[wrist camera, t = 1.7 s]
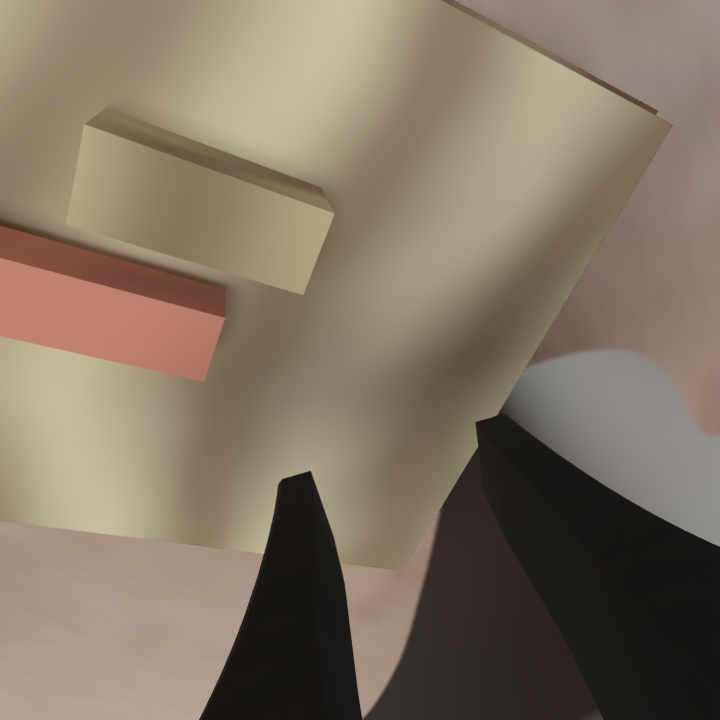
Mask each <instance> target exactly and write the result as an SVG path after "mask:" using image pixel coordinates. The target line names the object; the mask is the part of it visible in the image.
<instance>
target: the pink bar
mask: <svg viewBox="0 0 720 720" xmlns="http://www.w3.org/2000/svg"><path fill="white" fill-rule="evenodd" d="M224 320H225V289H221V288H218V287H214V286H211V285H207V284H204V283H200V282H197V281H193V280H190V279H186V278H183V277H179V276H176V275H172V274H169V273H165V272H162V271H158V270H155V269H151V268H148V267H144V266H141V265H137V264H134V263H130V262H127V261H123V260H120V259H116V258H113V257H109V256H106V255H102V254H99V253H95V252H91V251H88V250H84V249H81V248H77V247H74V246H70V245H67V244H63V243H60V242H56V241H53V240H49V239H46V238H42V237H39V236H35V235H32V234H28V233H25V232H21V231H18V230H14V229H11V228H7V227H4V226H0V336H2V337H6V338H11V339H15V340H20V341H24V342H29V343H33V344H37V345H42V346H46V347H51V348H55V349H60V350H64V351H69V352H73V353H77V354H82V355H86V356H91V357H95V358H100V359H104V360H109V361H113V362H117V363H122V364H126V365H131V366H135V367H140V368H144V369H149V370H153V371H158V372H162V373H166V374H171V375H175V376H180V377H184V378H189V379H193V380H198V381H202V382H204V381H205V378H206V375H207V371H208V368H209V365H210V362H211V359H212V356H213V353H214V350H215V347H216V344H217V341H218V338H219V335H220V332H221V329H222V326H223V323H224Z"/></svg>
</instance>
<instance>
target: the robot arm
mask: <svg viewBox="0 0 720 720" xmlns="http://www.w3.org/2000/svg"><path fill="white" fill-rule="evenodd" d="M475 425H476V433H477V441H478V448H479V457H480V465H481V473H482V480H483V488H484V493H485V495H486V497H487V500H488V502H489V504H490V507H491V509H492V511H493V513H494V516H495V518H496V520H497V522H498V525H499V527H500V529H501V531H502V533H503V535H504V537H505V539H506V540H507V542H508V544H509V546H510V547H511V549H512V551H513V552H514V554H515V556H516V557H517V559H518V561H519V563H520V564H521V566H522V568H523V569H524V571H525V572H526V574H527V576H528V578H529V579H530V581H531V583H532V584H533V586H534V588H535V589H536V591H537V593H538V594H539V596H540V597H541V599H542V601H543V603H544V604H545V606H546V608H547V610H548V611H549V613H550V615H551V616H552V618H553V620H554V621H555V623H556V624H557V626H558V628H559V630H560V631H561V633H562V635H563V637H564V639H565V641H566V643H567V644H568V646H569V648H570V650H571V652H572V654H573V656H574V658H575V660H576V662H577V664H578V666H579V669H580V671H581V673H582V675H583V677H584V679H585V681H586V683H587V685H588V687H589V689H590V692H591V693H592V696H593V698H594V700H595V702H596V704H597V706H598V709H599V711H600V713H601V715H602V717H603V719H604V720H720V547H719V546H717V545H715V544H712V543H710V542H708V541H706V540H704V539H702V538H699V537H697V536H695V535H693V534H691V533H689V532H687V531H684V530H683V529H681V528H679V527H677V526H675V525H673V524H671V523H669V522H667V521H665V520H664V519H662V518H660V517H658V516H656V515H654V514H652V513H651V512H649V511H647V510H645V509H643V508H642V507H640V506H638V505H636V504H635V503H633V502H631V501H629V500H628V499H626V498H624V497H623V496H621V495H620V494H618V493H616V492H614V491H613V490H611V489H610V488H608V487H606V486H605V485H603V484H602V483H600V482H599V481H597V480H595V479H594V478H592V477H591V476H589V475H588V474H586V473H585V472H583V471H582V470H580V469H579V468H577V467H576V466H575V465H573V464H572V463H570V462H569V461H567V460H565V459H564V458H563V457H561V456H560V455H559V454H557V453H556V452H554V451H553V450H552V449H550V448H549V447H547V446H546V445H545V444H543V443H542V442H541V441H539V440H538V439H537V438H535V437H534V436H533V435H531V434H530V433H529V432H527V431H526V430H525V429H523V428H522V427H521V426H520V425H518V424H517V423H516V422H515V421H513V420H512V419H511V418H510V417H508V416H506V415H505V414H501V415H497V416H494V417H491V418H487V419H484V420H481V421H477V422H475ZM199 720H362V715H361V709H360V703H359V696H358V689H357V681H356V673H355V665H354V656H353V648H352V640H351V632H350V623H349V615H348V607H347V599H346V591H345V583H344V579H343V574H342V570H341V565H340V561H339V557H338V552H337V548H336V544H335V539H334V536H333V533H332V530H331V527H330V524H329V521H328V518H327V516H326V513H325V510H324V507H323V504H322V501H321V498H320V496H319V493H318V490H317V487H316V484H315V481H314V478H313V476H312V473H311V471H308V472H304V473H301V474H297V475H294V476H291V477H287V478H284V479H282V480H281V481H280V482H279V484H278V489H277V497H276V503H275V509H274V514H273V519H272V523H271V528H270V532H269V537H268V541H267V544H266V548H265V552H264V555H263V559H262V563H261V566H260V570H259V573H258V577H257V580H256V583H255V586H254V589H253V592H252V595H251V598H250V601H249V604H248V607H247V610H246V613H245V616H244V618H243V621H242V624H241V626H240V629H239V632H238V634H237V637H236V639H235V642H234V644H233V647H232V649H231V652H230V654H229V656H228V659H227V661H226V664H225V666H224V668H223V671H222V673H221V675H220V677H219V679H218V681H217V683H216V686H215V688H214V690H213V692H212V694H211V696H210V698H209V701H208V703H207V705H206V707H205V709H204V711H203V713H202V715H201V717H200V719H199Z"/></svg>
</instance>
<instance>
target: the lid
mask: <svg viewBox="0 0 720 720" xmlns="http://www.w3.org/2000/svg"><path fill="white" fill-rule="evenodd" d="M672 126H673V124H671V123H669V122H667V121H665V120H663V119H661V118H660V117H658V116H656V115H654V114H652V113H650V112H648V111H647V110H645V109H643V108H641V107H639V106H637V105H635V104H634V103H632V102H630V101H628V100H626V99H624V98H622V97H620V96H619V95H617V94H615V93H613V92H611V91H609V90H607V89H606V88H604V87H602V86H600V85H598V84H596V83H594V82H593V81H591V80H589V79H587V78H585V77H583V76H581V75H580V74H578V73H576V72H574V71H572V70H570V69H568V68H567V67H565V66H563V65H561V64H559V63H557V62H555V61H553V60H552V59H550V58H548V57H546V56H544V55H542V54H540V53H539V52H537V51H535V50H533V49H531V48H529V47H527V46H526V45H524V44H522V43H520V42H518V41H516V40H514V39H513V38H511V37H509V36H507V35H505V34H503V33H501V32H500V31H498V30H496V29H494V28H492V27H490V26H488V25H487V24H485V23H483V22H481V21H479V20H477V19H475V18H473V17H472V16H470V15H468V14H466V13H464V12H462V11H460V10H459V9H457V8H455V7H453V6H451V5H449V4H447V3H446V2H444V1H442V0H0V226H4V227H7V228H11V229H14V230H18V231H21V232H25V233H28V234H32V235H35V236H39V237H42V238H46V239H49V240H53V241H56V242H60V243H63V244H67V245H70V246H74V247H77V248H81V249H84V250H88V251H91V252H95V253H99V254H102V255H106V256H109V257H113V258H116V259H120V260H123V261H127V262H130V263H134V264H137V265H141V266H144V267H148V268H151V269H155V270H158V271H162V272H165V273H169V274H172V275H176V276H179V277H183V278H186V279H190V280H193V281H197V282H200V283H204V284H207V285H211V286H214V287H218V288H221V289H225V320H224V323H223V326H222V329H221V332H220V335H219V338H218V341H217V344H216V347H215V350H214V353H213V356H212V359H211V362H210V365H209V368H208V371H207V375H206V378H205V381H204V382H202V381H198V380H193V379H189V378H184V377H180V376H175V375H171V374H166V373H162V372H158V371H153V370H149V369H144V368H140V367H135V366H131V365H126V364H122V363H117V362H113V361H109V360H104V359H100V358H95V357H91V356H86V355H82V354H77V353H73V352H69V351H64V350H60V349H55V348H51V347H46V346H42V345H37V344H33V343H29V342H24V341H20V340H15V339H11V338H6V337H2V336H0V521H4V522H12V523H20V524H28V525H36V526H44V527H52V528H60V529H68V530H76V531H84V532H92V533H101V534H109V535H117V536H125V537H133V538H141V539H149V540H157V541H165V542H173V543H181V544H189V545H197V546H205V547H213V548H222V549H230V550H238V551H246V552H254V553H262V554H264V552H265V548H266V544H267V541H268V537H269V532H270V528H271V523H272V519H273V514H274V509H275V503H276V497H277V489H278V484H279V482H280V481H281V480H282V479H284V478H287V477H291V476H294V475H297V474H301V473H304V472H308V471H311V473H312V476H313V478H314V481H315V484H316V487H317V490H318V493H319V496H320V498H321V501H322V504H323V507H324V510H325V513H326V516H327V518H328V521H329V524H330V527H331V530H332V533H333V536H334V539H335V544H336V548H337V552H338V557H339V561H340V563H343V564H351V565H359V566H367V567H375V568H383V569H391V570H399V571H403V569H404V567H405V566H406V564H407V562H408V561H409V559H410V557H411V556H412V554H413V553H414V551H415V549H416V548H417V546H418V544H419V543H420V541H421V539H422V538H423V536H424V534H425V533H426V531H427V529H428V528H429V526H430V524H431V523H432V521H433V520H434V518H435V516H436V515H437V513H438V511H439V510H440V508H441V506H442V505H443V503H444V501H445V500H446V498H447V496H448V495H449V493H450V492H451V490H452V488H453V487H454V485H455V483H456V482H457V480H458V478H459V476H460V475H461V473H462V472H463V470H464V468H465V467H466V465H467V463H468V462H469V460H470V459H471V457H472V455H473V454H474V452H475V450H476V449H477V447H478V441H477V433H476V425H475V422H477V421H481V420H484V419H487V418H491V417H494V416H497V414H498V412H499V411H500V409H501V407H502V406H503V404H504V402H505V401H506V399H507V398H508V396H509V394H510V393H511V391H512V389H513V388H514V386H515V384H516V383H517V381H518V379H519V378H520V376H521V374H522V373H523V371H524V370H525V368H526V366H527V365H528V363H529V361H530V360H531V358H532V356H533V355H534V353H535V351H536V350H537V348H538V346H539V345H540V343H541V342H542V340H543V338H544V337H545V335H546V333H547V332H548V330H549V328H550V327H551V325H552V323H553V322H554V320H555V318H556V317H557V315H558V313H559V312H560V310H561V309H562V307H563V305H564V304H565V302H566V300H567V299H568V297H569V295H570V294H571V292H572V290H573V289H574V287H575V285H576V284H577V282H578V281H579V279H580V277H581V276H582V274H583V272H584V271H585V269H586V267H587V266H588V264H589V262H590V261H591V259H592V257H593V256H594V254H595V252H596V251H597V249H598V248H599V246H600V244H601V243H602V241H603V239H604V238H605V236H606V234H607V233H608V231H609V229H610V228H611V226H612V224H613V223H614V221H615V220H616V218H617V216H618V215H619V213H620V211H621V210H622V208H623V206H624V205H625V203H626V201H627V200H628V198H629V196H630V195H631V193H632V191H633V190H634V188H635V187H636V185H637V183H638V182H639V180H640V178H641V177H642V175H643V173H644V172H645V170H646V168H647V167H648V165H649V163H650V162H651V160H652V159H653V157H654V155H655V154H656V152H657V150H658V149H659V147H660V145H661V144H662V142H663V140H664V139H665V137H666V135H667V134H668V132H669V131H670V129H671V127H672Z"/></svg>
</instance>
